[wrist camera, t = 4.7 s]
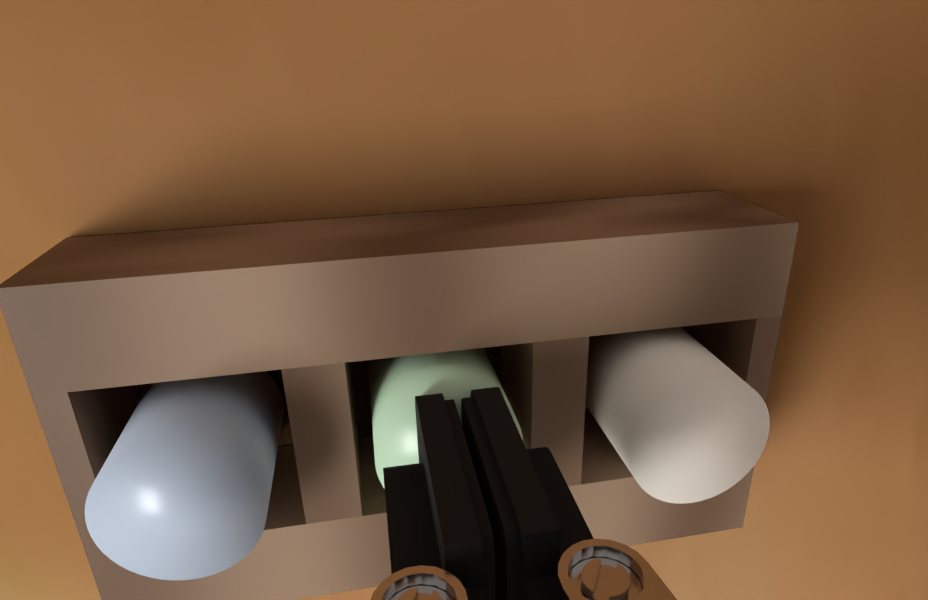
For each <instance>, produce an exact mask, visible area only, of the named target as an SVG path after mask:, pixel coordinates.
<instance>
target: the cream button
mask: <svg viewBox="0 0 928 600" xmlns="http://www.w3.org/2000/svg"><path fill="white" fill-rule="evenodd" d="M585 405H586V406H587V408H588V409H589V411H590V412H591V414H592V415H593V417H594V418H595V420H596V421H597V423H598V424H599V426H600V427H601V429H602V430H603V432H604V433H605V435H606V436H607V438H608V439H609V441H610V442H611V444H612V445H613V447H614V448H615V450H616V451H617V453H618V454H619V456H620V457H621V459H622V460H623V462H624V463H625V465H626V466H627V468H628V469H629V471H630V472H631V474H632V475H633V477H634V478H635V480H636V481H637V483H638V484H639V485H640V487H641V488H642V489H643V490H644V491H645V492H646V493H648V494H649V495H651V496H652V497H654V498H656V499H658V500H661V501H664V502H668V503H675V504H686V503H694V502H699V501H703V500H706V499H709V498H712V497H714V496H716V495H719V494H721V493H722V492H724V491H726V490H728V489H729V488H731V487H732V486H734V485H735V484H736V483H737V482H739V481H740V480H741V479H742V478H743V477H744V476H745V475H746V474H747V473H748V472H749V471H750V470H751V469H752V468H753V466H754V465H755V464H756V462H757V461H758V459H759V458H760V456H761V454H762V452H763V450H764V448H765V445H766V443H767V439H768V436H769V429H770V418H769V412H768V409H767V406H766V404H765V402H764V400H763V398H762V397H761V396H760V395H759V394H758V392H757V391H755V390H754V389H753V388H752V387H751V386H750V385H748V384H747V383H746V382H745V381H744V380H742V379H741V378H740V377H739V376H738V375H737V374H735V373H734V372H733V371H732V370H731V369H729V368H728V367H727V366H726V365H725V364H724V363H722V362H721V361H720V360H719V359H718V358H717V357H715V356H714V355H713V354H712V353H711V352H709V351H708V350H707V349H706V348H705V347H704V346H702V345H701V344H700V343H699V342H698V341H696V340H695V339H694V338H693V337H692V336H691V335H689V334H688V333H687V332H686V331H685V330H683V329H682V328H681V327H673V328H664V329H655V330H645V331H636V332H627V333H617V334H608V335H599V336H589V350H588V368H587V386H586V403H585Z"/></svg>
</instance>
